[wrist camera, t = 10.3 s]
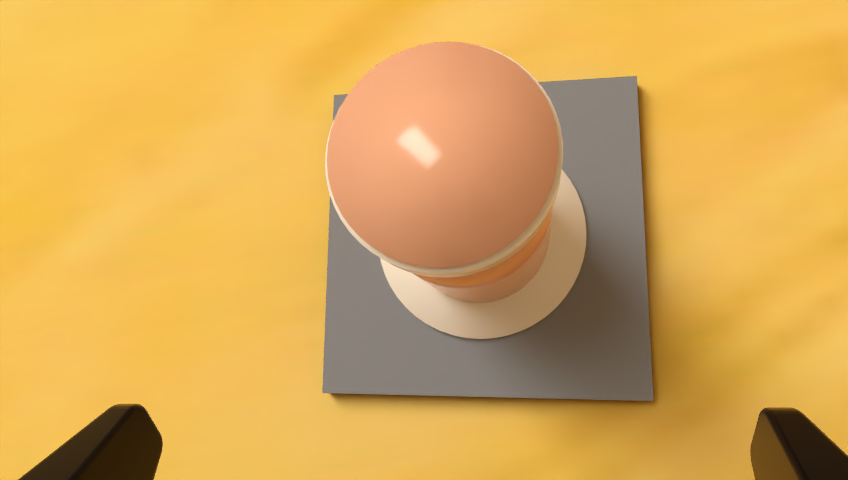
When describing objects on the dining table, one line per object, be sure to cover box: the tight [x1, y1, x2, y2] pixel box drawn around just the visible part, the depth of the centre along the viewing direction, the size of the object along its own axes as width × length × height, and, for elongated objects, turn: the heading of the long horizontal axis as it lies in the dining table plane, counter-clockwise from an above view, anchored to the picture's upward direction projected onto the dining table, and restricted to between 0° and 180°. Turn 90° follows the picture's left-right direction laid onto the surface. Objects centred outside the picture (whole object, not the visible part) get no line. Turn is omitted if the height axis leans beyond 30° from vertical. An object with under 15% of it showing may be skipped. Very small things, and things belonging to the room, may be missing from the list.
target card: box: [323, 76, 654, 401], centre depth 22 cm, size 11×11×1 cm
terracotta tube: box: [325, 42, 563, 303], centre depth 17 cm, size 5×5×9 cm
